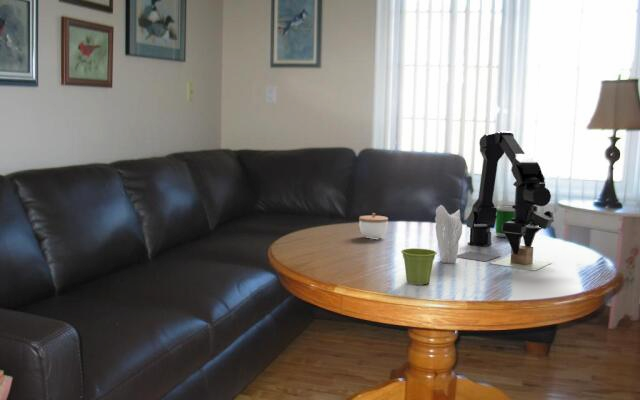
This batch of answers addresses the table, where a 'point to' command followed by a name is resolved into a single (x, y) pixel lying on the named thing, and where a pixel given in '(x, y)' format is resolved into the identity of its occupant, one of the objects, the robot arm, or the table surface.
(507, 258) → the mat
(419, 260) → the plant pot
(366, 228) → the lidded jar
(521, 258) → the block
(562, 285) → the table surface
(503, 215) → the soda can
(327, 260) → the table surface
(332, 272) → the table surface
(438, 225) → the shell sculpture
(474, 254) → the mat
